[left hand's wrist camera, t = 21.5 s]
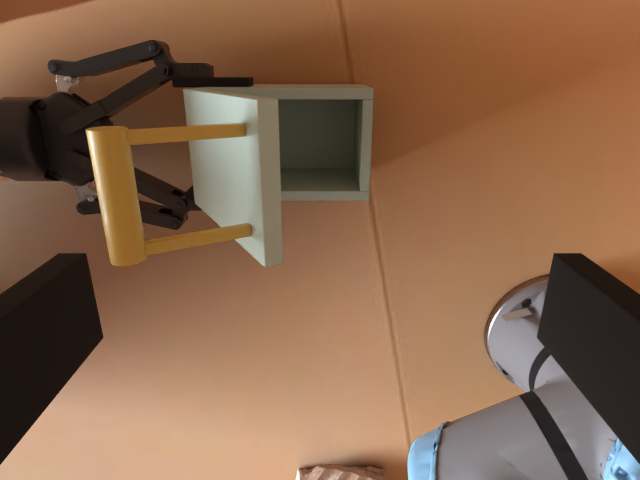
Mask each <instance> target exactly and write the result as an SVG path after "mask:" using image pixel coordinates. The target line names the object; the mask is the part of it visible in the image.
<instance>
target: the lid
mask: <svg viewBox="0 0 640 480" xmlns="http://www.w3.org/2000/svg"><path fill="white" fill-rule="evenodd" d="M183 95H184V104H185V114H186V123H187V126H178V127H161V128H144V129H128V128H127V127H124V126H101V127H92V128H88V129H86V135H87V140H88V145H89V151H90V156H91V162H92V167H93V172H94V178H95V183H96V188H97V194H98V199H99V204H100V210H101V215H102V221H103V226H104V231H105V237H106V242H107V247H108V253H109V258H110V263H111V264H112V265H114V266H132V265H136V264H139V263H141V262H143V261H145V260H146V259H147V256H148V255H153V254H159V253H164V252H169V251H175V250H180V249H185V248H191V247H196V246H202V245H207V244H212V243H218V242H223V241H229V240H236V241H237V242H238V243H239V244H240V245H241V246H242V247H243V248H244V249H245V250H246V251H248V252H249V253H250V254H251V255H252V256H253V257H254V258H255V259H256V260H257V261H258V262H259V263H261V264H262V265H263V266H264V267H271V266H275V265H280V264H283V235H282V205H281V174H280V144H279V113H278V99H275V98H267V97H260V96H252V95H245V94H237V93H229V92H222V91H214V90H206V89H199V88H189V89H183ZM180 141H188V142H189V152H190V161H191V171H192V180H193V190H194V199H195V204H196V205H198V206H199V207H200V208H201V209H202V210H203V211H204V212H205V213H206V214H207V215H208V216H209V217H211V218H212V219H213V220H214V221H215V222H216V223H217V224H218V225H219V226H220V228H214V229H208V230H202V231H196V232H190V233H184V234H179V235H173V236H167V237H161V238H155V239H149V240H145V239H144V232H143V226H142V219H141V212H140V206H139V199H138V193H137V186H136V180H135V173H134V167H133V160H132V154H131V147H130V145H140V144H154V143H167V142H180Z"/></svg>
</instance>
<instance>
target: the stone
mask: <svg viewBox="0 0 640 480" xmlns="http://www.w3.org/2000/svg"><path fill="white" fill-rule="evenodd" d="M384 474H385V471H384V469H379V468H375V467H372V466H366V467H356V466H351V467H345V466H342V465H330V464H329V465H318V466H317V467H315V468H312V469H307V470H306V469H304V468H298V471H297V476H296V480H384Z"/></svg>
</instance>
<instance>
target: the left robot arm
mask: <svg viewBox="0 0 640 480" xmlns="http://www.w3.org/2000/svg"><path fill="white" fill-rule="evenodd" d="M102 338H103V333H102V328H101V324H100V319H99V314H98V309H97V304H96V299H95V294H94V289H93V285H92V280H91V275H90V270H89V265H88V260H87V255H86V253H59V254H57V255H56V256H54V257H53V258H52V259H50V260H49V261H47V262H46V263H45V264H43V265H42V266H40V267H39V268H37V269H36V270H35V271H33V272H32V273H30V274H29V275H27V276H26V277H25V278H23V279H22V280H20V281H19V282H17V283H16V284H15V285H13V286H12V287H10V288H9V289H8V290H6V291H5V292H3V293H2V294H0V464H1V463H2V462H3V461H4V460H5V458H6V457H7V456H8V455H9V453H10V452H11V451H12V450H13V448H14V447H15V446H16V445H17V443H18V442H19V441H20V440H21V439H22V437H23V436H24V435H25V434H26V432H27V431H28V430H29V429H30V427H31V426H32V425H33V424H34V422H35V421H36V420H37V419H38V418H39V416H40V415H41V414H42V413H43V411H44V410H45V409H46V408H47V406H48V405H49V404H50V403H51V401H52V400H53V399H54V398H55V397H56V395H57V394H58V393H59V392H60V390H61V389H62V388H63V387H64V385H65V384H66V383H67V382H68V380H69V379H70V378H71V377H72V376H73V374H74V373H75V372H76V371H77V369H78V368H79V367H80V366H81V364H82V363H83V362H84V361H85V359H86V358H87V357H88V356H89V355H90V353H91V352H92V351H93V350H94V348H95V347H96V346H97V345H98V343H99V342H100V341H101V340H102ZM484 339H485V346H486V350H487V352H488V355H489V356H490V358H491V360H492V362H493V363H494V365H495V366H496V368H497V369H498V370H499V371H500V372H501V373H502V374H503V375H504V376H505V377H506V378H507V379H508V380H510V381H511V382H513V383H514V384H516V385H517V386H518V387H520V388H521V389H522V390H524V391H525V392H526V393H524V394H521V395H518V396H516V397H513V398H511V399H508V400H506V401H503V402H500V403H498V404H495V405H493V406H490V407H488V408H485V409H483V410H480V411H478V412H475V413H472V414H470V415H467V416H465V417H462V418H460V419H457V420H455V421H452V422H448V421H447V422H445V423H443V424H442V425H441V426H440V427H439V428H437V429H435V430H433V431H430V432H428V433H426V434H424V435H422V436H420V437H418V438H417V439H416V440H415V441H414V442H413V444H412V446H411V448H410V451H409V455H408V480H640V294H638V293H637V292H635V291H634V290H632V289H631V288H630V287H628V286H627V285H625V284H624V283H623V282H621V281H620V280H618V279H617V278H615V277H614V276H613V275H611V274H610V273H608V272H607V271H605V270H604V269H603V268H601V267H600V266H598V265H597V264H595V263H594V262H593V261H591V260H590V259H588V258H587V257H586V256H584V255H583V254H581V253H554V255H553V260H552V265H551V270H550V275H547V276H542V277H537V278H534V279H531V280H529V281H526V282H524V283H522V284H520V285H518V286H517V287H515V288H514V289H512V290H511V291H509V292H508V293H507V294H506V295H505V296H504V297H503V298H502V299H501V300H500V301H499V302H498V303H497V304H496V306H495V307H494V308H493V310H492V312H491V314H490V315H489V318H488V320H487V323H486V327H485V334H484Z"/></svg>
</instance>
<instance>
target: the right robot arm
mask: <svg viewBox="0 0 640 480" xmlns="http://www.w3.org/2000/svg"><path fill="white" fill-rule="evenodd" d="M169 51H170V50H169V46H168V45H167V44H166V43H165V42H161V41H156V40H150V41H146V42H143V43H139V44H136V45H132V46H128V47H125V48H121V49H118V50H114V51H111V52H107V53H104V54H100V55H97V56H93V57H90V58H86V59H83V60H79V61H71V60H51V61H49V63H48V69H49V71H50V72H51V73H52V74H54V75H55V77H56V87H57V92H56V93H54V94H53V95H51V96H49V97H5V98H1V99H0V181H11V180H16V181H64V182H67V183H69V184H71V185H74V186H76V188H77V192H78V195H79V198H80V201H81V202H80V203H78V204H77V206H76V208H77V211H78V212H79V213H80V214H83V215H86V214H96V213H101V210H100V204H99V199H98V194H97V189H96V188H94V187H93V186H92V185H91V183H90V182H91V181H93V180H94V179H95V178H94V172H93V167H92V162H91V156H90V151H89V145H88V140H87V135H86V129H88V128H92V127H101V126H114V124H113V121H110V119H109V118H110V117H112V116H114V115H115V114H117V113H119V112H120V111H121V110H122V109H124V108H126V107H127V106H129V105H131V104H132V103H134V102H136V101H137V100H139V99H141V98H142V97H144V96H146V95H147V94H149V93H151V92H152V91H154V90H156V89H157V88H159V87H161V86H162V85H164V84H166V83H167V82H169V81H171V80H172V83H173V87H251V86H253V77H214V69H213V66H212V65H210V64H207V63H177V62H175V61H174V60H173V58H172V56H171V54H170V52H169ZM150 60H153V61H154V63H155V65H156V67H154V68H152V69H151V70H149V71H148V72H146V73H144V74H143V75H141V76H139V77H138V78H136V79H134V80H133V81H131V82H129V83H128V84H126V85H125V86H123V87H121V88H120V89H118V90H116V91H115V92H113V93H111V94H110V95H108V96H107V97H105V98H103V99H102V100H99V101H97V102H95V103H93V104H90V103H89V102H87V101H86V100H84V99H83V98H81V97H80V96H78V95H77V94H75V93H74V88H75V87H76V86H79V85H82V84H83V83H84V81H85V77H84V76H96V75H100V74H104V73H107V72H111V71H115V70H118V69H122V68H125V67H129V66H132V65H136V64H139V63H143V62H147V61H150ZM134 173H135V180H136V186H137V192H138V193H140V194H142V195H144V196H147V197H149V198H151V199H153V200H155V201H157V202H159V203H161V204H163V205H165V206H168V207H165V206H161V205H157V204H153V203H148V202H144V201H140V200H139V206H140V212H141V219H142V222H143V223H148V224H152V225H156V226H161V227H165V228H169V229H174V230H177V229H179V228H180V227H181V226H182V225H183V224H184V223H185V221H186V220H187V219H188V212H189V211H191V210H202V209H201V208H200V207H199V206H198V205H196V204H195V199H194V190H193V186H192V187H191V188H190V189H188V190H187V191H186V192H185V191H182V190H180V189H178V188H176V187H174V186H172V185H170V184H168V183H166V182H164V181H162V180H160V179H158V178H156V177H154V176H152V175H150V174H147V173H145V172H143V171H141V170H139V169H137V168H135V167H134Z"/></svg>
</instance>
